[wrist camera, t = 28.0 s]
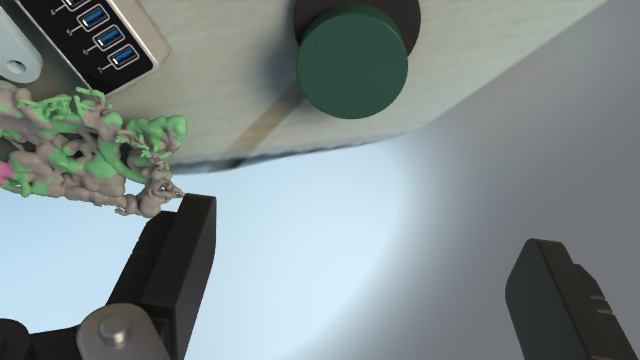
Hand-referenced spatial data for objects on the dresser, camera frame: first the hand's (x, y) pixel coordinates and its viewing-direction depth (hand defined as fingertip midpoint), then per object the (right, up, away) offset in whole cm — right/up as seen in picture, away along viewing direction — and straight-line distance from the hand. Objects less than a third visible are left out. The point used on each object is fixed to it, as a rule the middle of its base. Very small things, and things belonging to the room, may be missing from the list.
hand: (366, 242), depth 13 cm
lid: (+1, +8, +14) cm, 16 cm away
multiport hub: (-14, +12, +14) cm, 23 cm away
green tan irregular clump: (-15, +7, +13) cm, 22 cm away
